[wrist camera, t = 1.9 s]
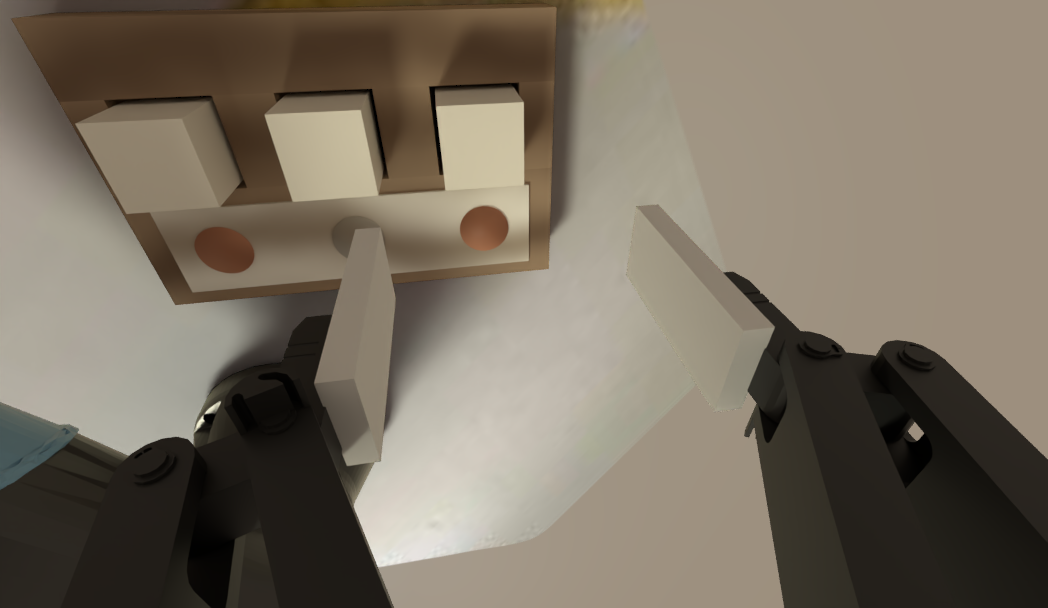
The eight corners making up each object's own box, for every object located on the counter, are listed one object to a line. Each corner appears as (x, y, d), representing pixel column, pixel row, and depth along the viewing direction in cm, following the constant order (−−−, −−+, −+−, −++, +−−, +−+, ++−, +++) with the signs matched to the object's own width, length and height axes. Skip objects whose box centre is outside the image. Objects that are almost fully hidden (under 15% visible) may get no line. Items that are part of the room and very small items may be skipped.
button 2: (246, 176, 27) (219, 207, 24) (165, 181, 27) (126, 213, 23) (216, 96, 25) (181, 118, 21) (125, 100, 24) (75, 123, 21)
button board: (540, 248, 36) (549, 270, 33) (193, 279, 32) (173, 307, 30) (544, 3, 26) (557, 7, 24) (54, 12, 23) (6, 19, 20)
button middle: (384, 167, 28) (378, 195, 25) (309, 171, 28) (292, 201, 24) (369, 90, 26) (360, 109, 22) (286, 93, 25) (264, 114, 22)
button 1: (512, 158, 29) (524, 185, 26) (443, 163, 29) (445, 190, 25) (511, 84, 27) (523, 102, 23) (434, 87, 26) (435, 106, 23)
